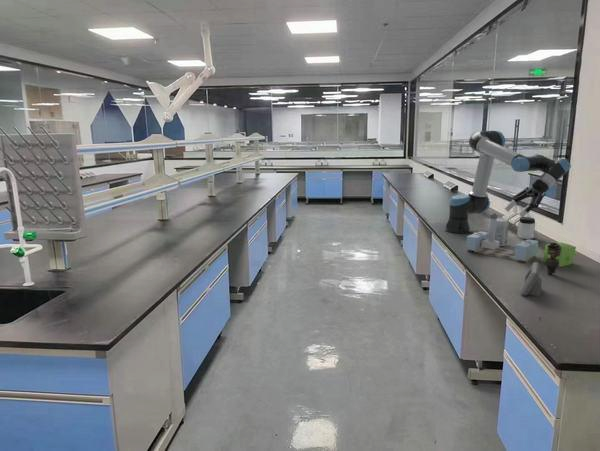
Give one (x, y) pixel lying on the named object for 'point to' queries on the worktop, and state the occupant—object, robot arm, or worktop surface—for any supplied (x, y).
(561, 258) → the lime green rounded box
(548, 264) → the dark brown figurine
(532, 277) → the gray robed figurine
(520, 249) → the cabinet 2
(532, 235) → the jar
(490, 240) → the white stand
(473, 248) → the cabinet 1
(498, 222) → the supplement tub
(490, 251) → the rail bench
